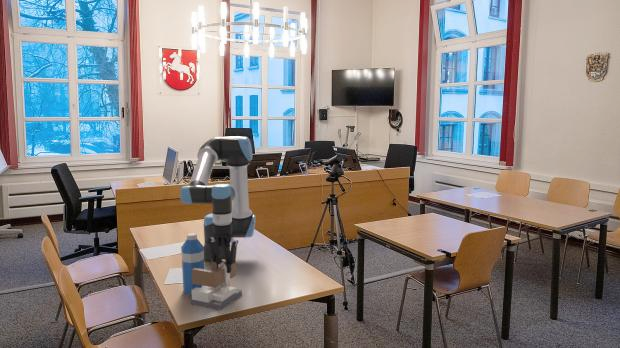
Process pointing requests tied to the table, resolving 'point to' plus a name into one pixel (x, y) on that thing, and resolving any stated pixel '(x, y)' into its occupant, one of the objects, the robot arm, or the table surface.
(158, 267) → the table surface
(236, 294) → the tray of white blocks
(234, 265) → the brown open crate
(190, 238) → the water bottle
